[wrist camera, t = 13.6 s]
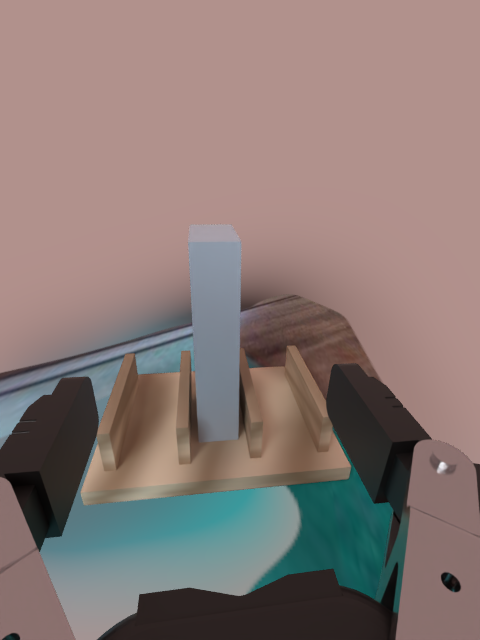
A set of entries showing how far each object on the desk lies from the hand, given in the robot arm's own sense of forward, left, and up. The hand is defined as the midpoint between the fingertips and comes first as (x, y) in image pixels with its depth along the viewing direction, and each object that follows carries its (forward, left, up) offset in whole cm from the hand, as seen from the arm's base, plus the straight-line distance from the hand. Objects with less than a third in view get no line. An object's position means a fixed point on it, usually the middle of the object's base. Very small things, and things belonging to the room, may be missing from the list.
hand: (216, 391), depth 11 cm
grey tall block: (-9, +9, -12) cm, 18 cm away
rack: (-9, +10, -13) cm, 19 cm away
